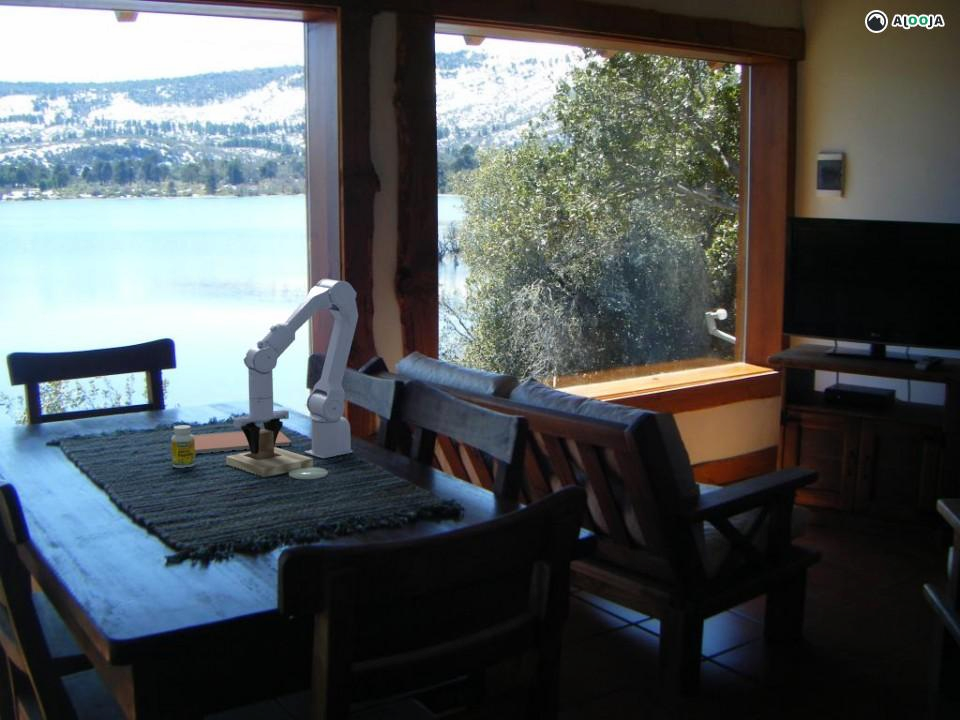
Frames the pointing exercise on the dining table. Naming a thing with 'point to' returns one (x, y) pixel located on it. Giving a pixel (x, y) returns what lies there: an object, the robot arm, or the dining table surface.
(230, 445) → the notebook
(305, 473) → the coaster
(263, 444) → the walnut block
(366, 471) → the dining table surface
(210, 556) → the dining table surface
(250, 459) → the board
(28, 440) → the dining table surface
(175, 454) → the supplement bottle
